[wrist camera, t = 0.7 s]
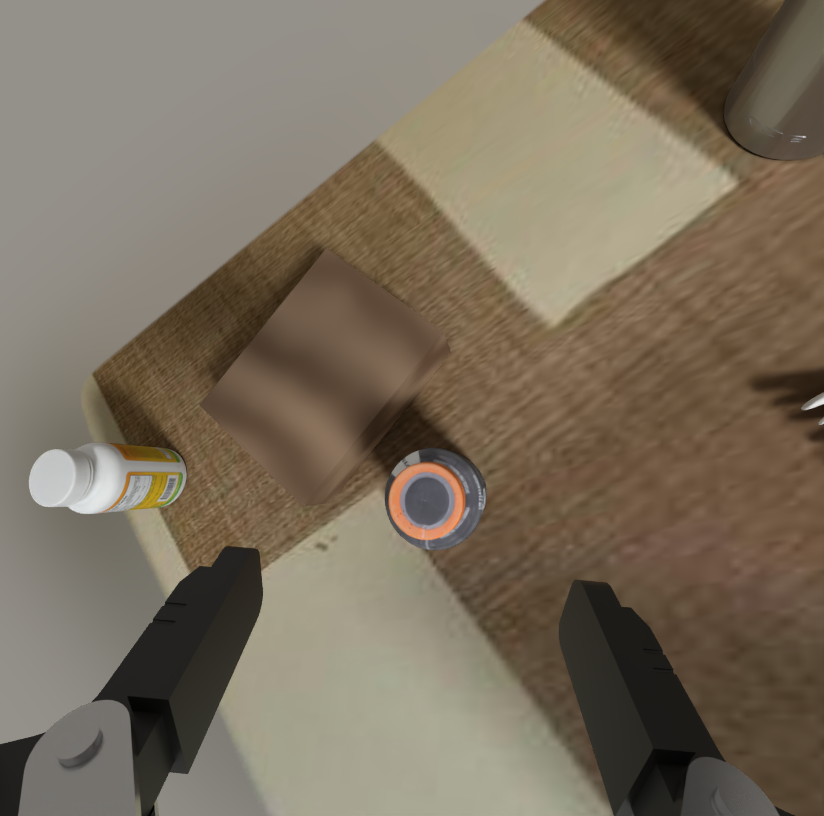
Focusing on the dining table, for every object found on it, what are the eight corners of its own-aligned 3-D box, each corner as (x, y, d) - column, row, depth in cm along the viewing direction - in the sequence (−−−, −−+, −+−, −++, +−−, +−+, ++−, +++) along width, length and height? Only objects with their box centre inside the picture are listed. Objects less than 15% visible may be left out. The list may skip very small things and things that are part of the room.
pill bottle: (401, 470, 33) (354, 466, 22) (469, 443, 32) (456, 424, 21) (427, 542, 31) (391, 576, 20) (499, 515, 31) (501, 536, 20)
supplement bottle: (134, 459, 38) (15, 453, 29) (182, 440, 37) (77, 427, 28) (143, 515, 37) (23, 528, 27) (193, 496, 36) (87, 503, 27)
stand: (348, 278, 37) (326, 247, 32) (451, 352, 34) (443, 331, 29) (238, 414, 37) (199, 405, 32) (330, 502, 33) (302, 506, 29)
